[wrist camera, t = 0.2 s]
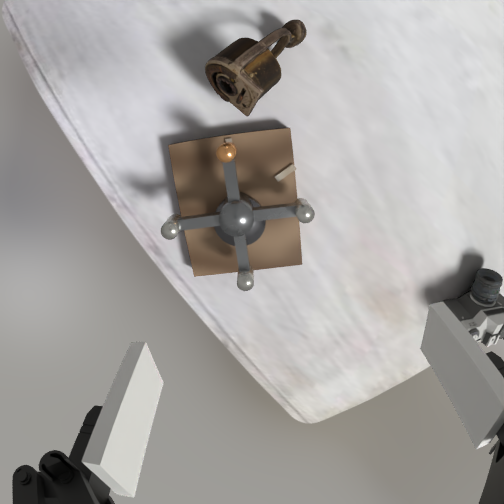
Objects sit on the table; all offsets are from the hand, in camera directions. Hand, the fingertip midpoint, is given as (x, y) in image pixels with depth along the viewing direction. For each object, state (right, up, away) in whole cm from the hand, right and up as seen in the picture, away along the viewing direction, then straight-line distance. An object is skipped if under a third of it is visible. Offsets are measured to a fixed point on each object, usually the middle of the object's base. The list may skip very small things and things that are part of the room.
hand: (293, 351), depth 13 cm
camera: (+38, -2, +32) cm, 49 cm away
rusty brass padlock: (-2, +26, +19) cm, 32 cm away
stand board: (-3, +10, +25) cm, 28 cm away
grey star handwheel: (-3, +10, +24) cm, 26 cm away
